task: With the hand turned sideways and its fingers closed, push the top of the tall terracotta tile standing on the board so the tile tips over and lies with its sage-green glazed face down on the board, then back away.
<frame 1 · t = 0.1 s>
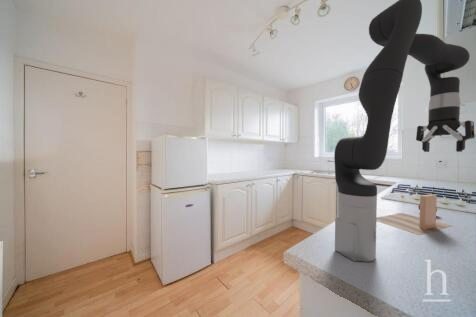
hand: (442, 151, 66), 29 cm above the counter, tool pointing down, fingers open, 8 cm apart
onion: (427, 216, 81), on the counter
board: (409, 224, 72), on the counter
tile: (427, 227, 66), point 1 cm above the counter, touching board
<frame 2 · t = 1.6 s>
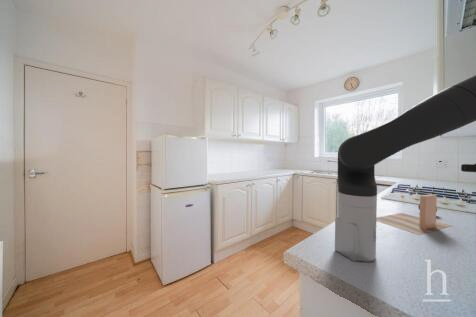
hand: (468, 167, 55), 24 cm above the counter, tool horizontal, fingers open, 7 cm apart
nothing on the counter moved.
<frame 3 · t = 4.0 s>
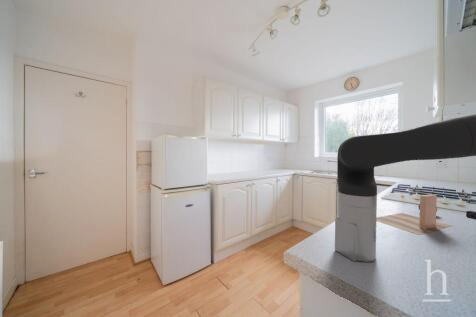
hand: (467, 213, 57), 9 cm above the counter, tool horizontal, fingers closed
nothing on the counter moved.
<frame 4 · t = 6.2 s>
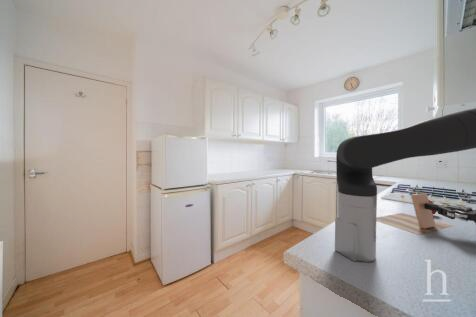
hand: (425, 205, 67), 9 cm above the counter, tool horizontal, fingers closed
tile: (427, 226, 66), point 1 cm above the counter, tilted 13°, touching board
everything else where it was.
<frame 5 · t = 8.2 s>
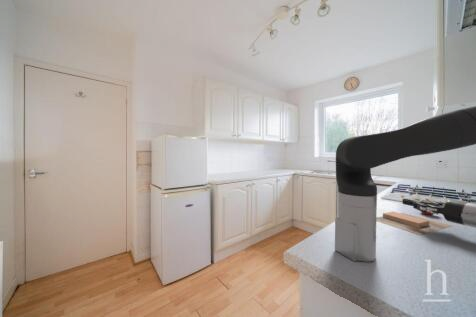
hand: (403, 201, 73), 9 cm above the counter, tool horizontal, fingers closed
tile: (423, 224, 67), point 2 cm above the counter, tilted 90°, touching board
everything else where it was.
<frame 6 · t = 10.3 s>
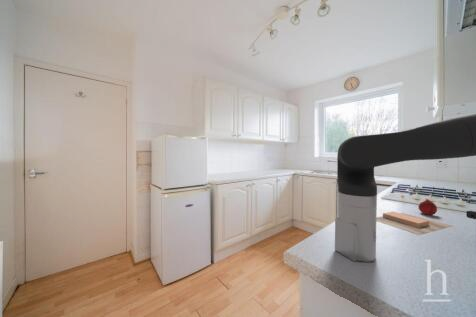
hand: (467, 213, 57), 9 cm above the counter, tool horizontal, fingers closed
nothing on the counter moved.
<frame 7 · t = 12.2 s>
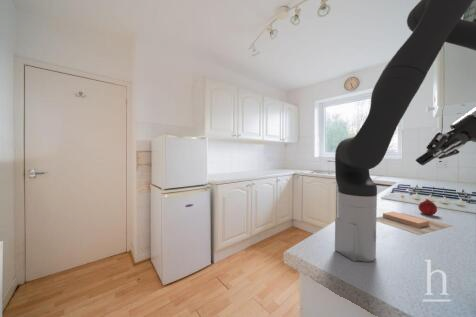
hand: (418, 162, 59), 25 cm above the counter, tool tilted 45°, fingers closed
nothing on the counter moved.
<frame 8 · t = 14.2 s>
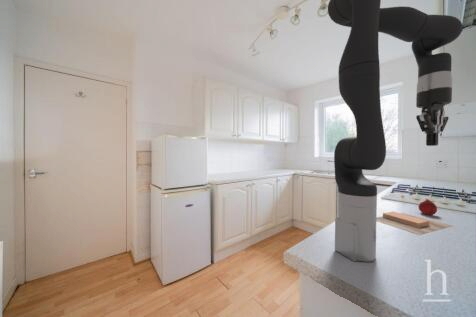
hand: (431, 145, 56), 31 cm above the counter, tool pointing down, fingers closed
nothing on the counter moved.
at the end: tile tilted 90°; tile inside the target area (1.1 cm from its centre), point 1.8 cm above the counter; tile touching board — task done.
